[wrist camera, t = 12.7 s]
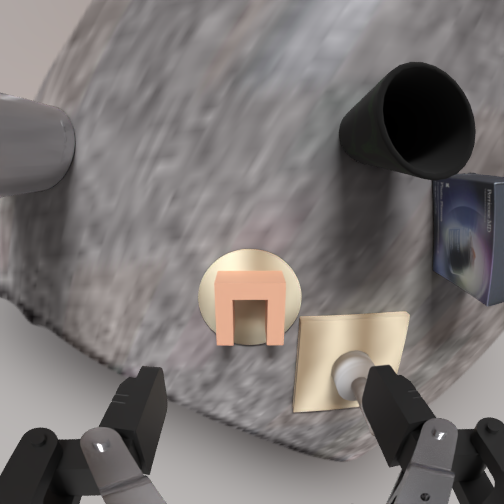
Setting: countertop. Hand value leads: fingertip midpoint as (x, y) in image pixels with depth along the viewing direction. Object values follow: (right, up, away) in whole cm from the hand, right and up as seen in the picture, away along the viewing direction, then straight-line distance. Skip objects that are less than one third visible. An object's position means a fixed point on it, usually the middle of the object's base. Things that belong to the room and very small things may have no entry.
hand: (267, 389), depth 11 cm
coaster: (-1, +1, +20) cm, 20 cm away
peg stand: (+10, -7, +22) cm, 25 cm away
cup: (+10, +16, +17) cm, 25 cm away
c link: (-1, +1, +20) cm, 20 cm away
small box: (+21, +8, +19) cm, 30 cm away
